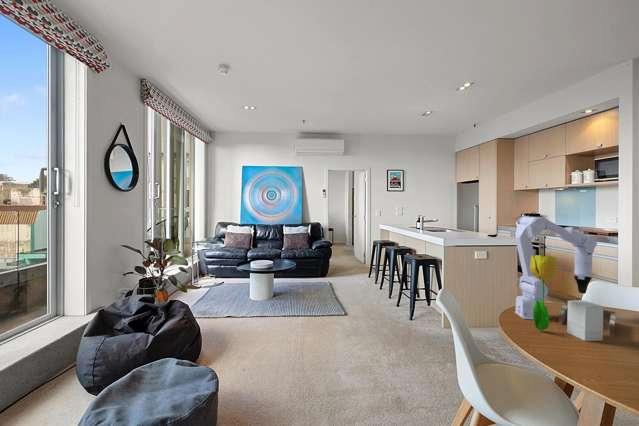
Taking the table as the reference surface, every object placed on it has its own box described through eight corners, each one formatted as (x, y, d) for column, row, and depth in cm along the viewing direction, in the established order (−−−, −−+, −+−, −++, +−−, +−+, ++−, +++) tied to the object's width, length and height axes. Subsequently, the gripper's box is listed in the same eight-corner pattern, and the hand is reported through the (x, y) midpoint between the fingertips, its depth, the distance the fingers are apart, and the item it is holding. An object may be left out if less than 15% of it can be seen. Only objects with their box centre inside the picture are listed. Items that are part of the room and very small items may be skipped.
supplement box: (603, 340, 108) (604, 306, 107) (584, 341, 107) (585, 306, 107) (583, 332, 115) (585, 299, 115) (566, 332, 115) (567, 300, 114)
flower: (559, 337, 110) (562, 256, 109) (535, 335, 112) (537, 255, 111) (547, 327, 119) (549, 253, 118) (524, 326, 120) (526, 252, 120)
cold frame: (564, 313, 135) (564, 302, 135) (615, 324, 123) (615, 312, 123) (558, 323, 123) (558, 311, 123) (614, 336, 111) (614, 323, 111)
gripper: (594, 266, 123) (593, 298, 123) (597, 261, 133) (596, 291, 133) (572, 263, 128) (571, 294, 128) (576, 259, 138) (575, 288, 139)
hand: (582, 292), depth 131 cm, fingers closed
